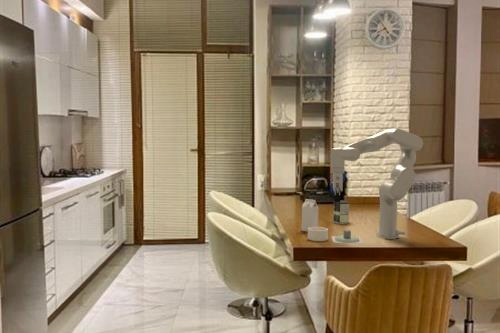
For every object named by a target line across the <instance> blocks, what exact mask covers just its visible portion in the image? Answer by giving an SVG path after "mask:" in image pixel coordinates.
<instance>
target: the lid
mask: <svg viewBox="0 0 500 333" xmlns="http://www.w3.org/2000/svg"><path fill="white" fill-rule="evenodd" d="M335 236H336V235H335ZM358 237H359V236H354V235H352V231H351V230H349V229H344V230H343V235H337V236H336V237H335V240H337V241H340V242H358V241H359V238H358Z"/></svg>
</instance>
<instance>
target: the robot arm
mask: <svg viewBox="0 0 500 333" xmlns="http://www.w3.org/2000/svg"><path fill="white" fill-rule="evenodd" d="M393 144H394V145H398V146H399V148H400V156H399V159H398V160H397V162H396V164H395V165H394V167H393V169H392V170H391V173H390V178H391V180H392V181H393V182H392V181H385V182H383V183H381V184H380V186H379V189H378V195H379V197H378V198H379V221H378V222H379V224H378V233H376V235H375V236H376V237H377V238H381V239H384V240H385V239H386V240H397V239H396V238H398V239H399V238H400V236H401V235H403V236H405V235H406V231H403V230H399V229H397V228H398V227H397V225H398V224H397V222H398V202H399V201H401V200H403V199H404V198H405V196H406V195H407V194H408V192H409V190H410V189H411V187H412V185H413V184H414V182H415V179H416V172H415V171H414V169H413V167H414V165H415V163H416V160H417V154H416V152H417V151H420V150H421V149H422V148H423V146H424V141H423V139H422V138H421V137H420V136H419V135H417V134H414V133H413V132H412V133H411V132H409V131H407V130H405V129H401V128H392V127H391V128H388V129H385V130H383V131H380V132H378V133H377V134H374V135H372V136H370V137H367V138H364V139H362V140H358V141H355V142H353V143H351V144H349V145H348V144H347V145H346V146H344V147H332V148H331V150H330V174H332V189H333V203H334V202H340V200H341V192H343V183H344V182H343V178H344V177H343V174H345V166H346V165H345V163H346V162H347V161H349V162H355V161H357V160H358V159H360V157H361V155H364V154H365V153H366V154H368V153H374V152H377V151H379V150H382V149H384V148H386V147H389V146H390V145H393ZM345 161H346V162H345Z"/></svg>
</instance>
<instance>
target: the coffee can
mask: <svg viewBox="0 0 500 333" xmlns="http://www.w3.org/2000/svg"><path fill="white" fill-rule="evenodd" d="M332 212H333V217H332V222H333V223H334V224H338V225H346V224H349V223H350V222H349V219H350V218H349V217H350V200H349V201H348V200H346V199H345V200H343V199H340V202H334V201H333V211H332Z"/></svg>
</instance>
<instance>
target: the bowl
mask: <svg viewBox="0 0 500 333" xmlns="http://www.w3.org/2000/svg"><path fill="white" fill-rule="evenodd" d="M307 240H309V241H313V242H314V241H315V242H325V241H328V240H329V229H328V228H326V227H323V226H318V227H309V228H308V231H307Z"/></svg>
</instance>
